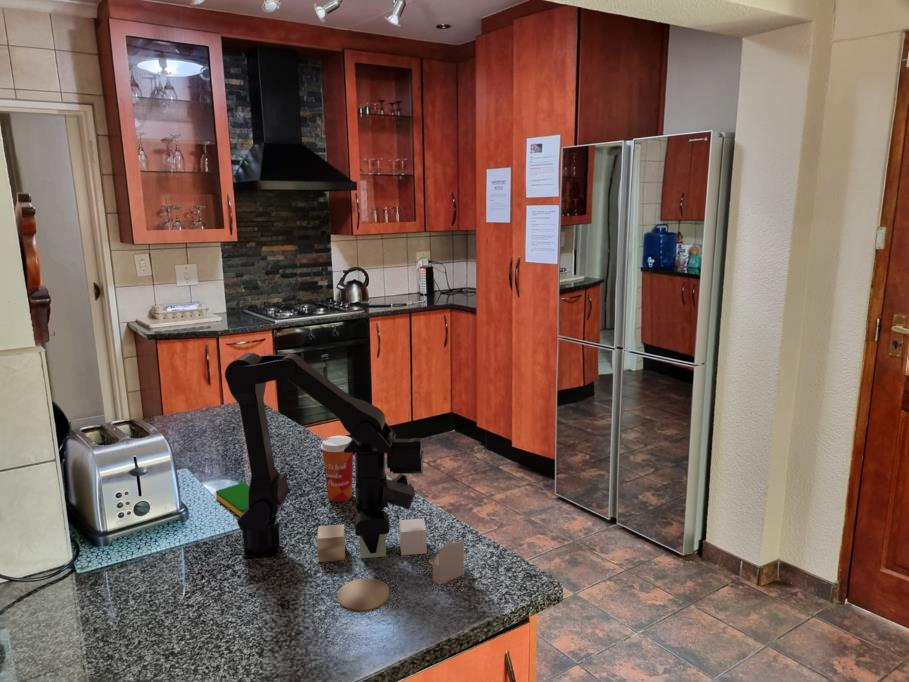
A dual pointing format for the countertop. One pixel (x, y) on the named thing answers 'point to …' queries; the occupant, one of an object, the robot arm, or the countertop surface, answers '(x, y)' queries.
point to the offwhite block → (412, 536)
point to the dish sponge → (234, 497)
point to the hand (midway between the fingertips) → (372, 546)
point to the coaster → (363, 594)
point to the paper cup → (337, 468)
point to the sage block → (379, 552)
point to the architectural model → (449, 562)
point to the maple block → (331, 543)
